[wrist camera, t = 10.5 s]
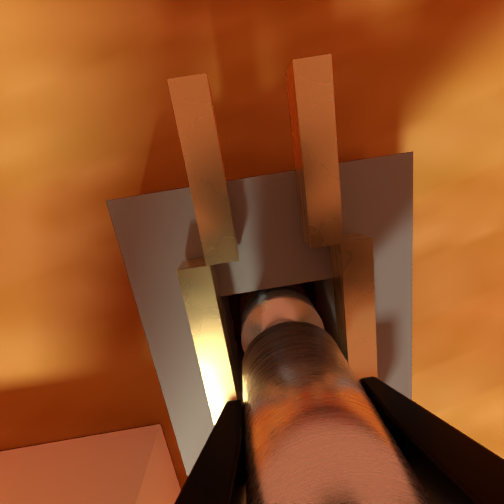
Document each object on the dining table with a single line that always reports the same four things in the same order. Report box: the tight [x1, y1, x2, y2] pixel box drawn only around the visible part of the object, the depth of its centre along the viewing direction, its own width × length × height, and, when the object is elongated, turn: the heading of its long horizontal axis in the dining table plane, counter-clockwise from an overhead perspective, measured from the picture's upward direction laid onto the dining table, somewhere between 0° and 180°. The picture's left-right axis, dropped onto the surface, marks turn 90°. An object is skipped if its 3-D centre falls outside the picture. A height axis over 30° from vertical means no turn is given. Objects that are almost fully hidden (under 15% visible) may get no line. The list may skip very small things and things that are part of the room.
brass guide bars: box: [167, 54, 378, 425], centre depth 8 cm, size 14×6×3 cm, turn 9°
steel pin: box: [240, 283, 433, 504], centre depth 8 cm, size 3×3×10 cm
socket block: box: [106, 152, 413, 476], centre depth 12 cm, size 12×10×3 cm
